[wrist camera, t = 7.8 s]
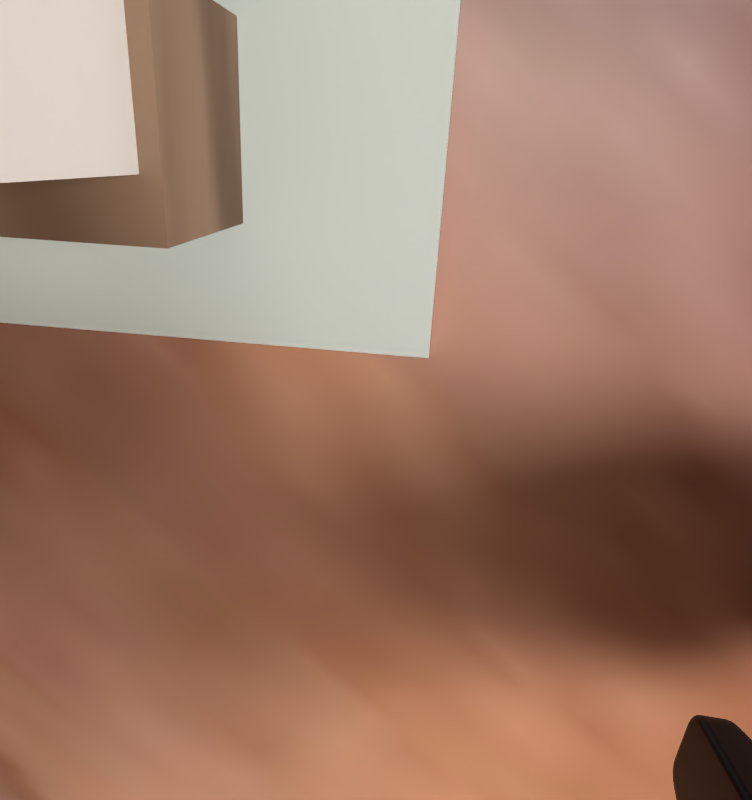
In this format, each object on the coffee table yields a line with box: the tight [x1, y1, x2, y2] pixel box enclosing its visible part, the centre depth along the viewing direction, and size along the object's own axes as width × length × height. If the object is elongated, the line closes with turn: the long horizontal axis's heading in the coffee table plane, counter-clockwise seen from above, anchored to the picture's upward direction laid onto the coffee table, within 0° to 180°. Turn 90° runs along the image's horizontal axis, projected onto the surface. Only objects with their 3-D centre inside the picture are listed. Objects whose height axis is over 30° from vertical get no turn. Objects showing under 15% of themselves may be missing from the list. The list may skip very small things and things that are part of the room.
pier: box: [0, 0, 243, 249], centre depth 14 cm, size 5×5×5 cm
